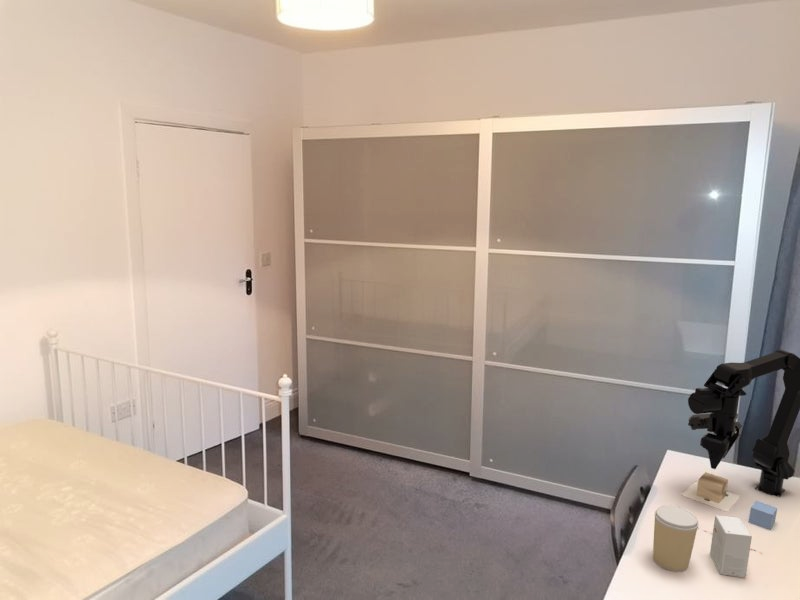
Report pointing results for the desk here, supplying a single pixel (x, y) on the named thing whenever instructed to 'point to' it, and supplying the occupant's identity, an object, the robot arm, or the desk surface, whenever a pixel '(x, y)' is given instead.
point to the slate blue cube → (762, 515)
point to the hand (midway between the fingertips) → (717, 462)
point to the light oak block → (712, 487)
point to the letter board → (723, 505)
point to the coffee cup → (674, 537)
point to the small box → (730, 546)
